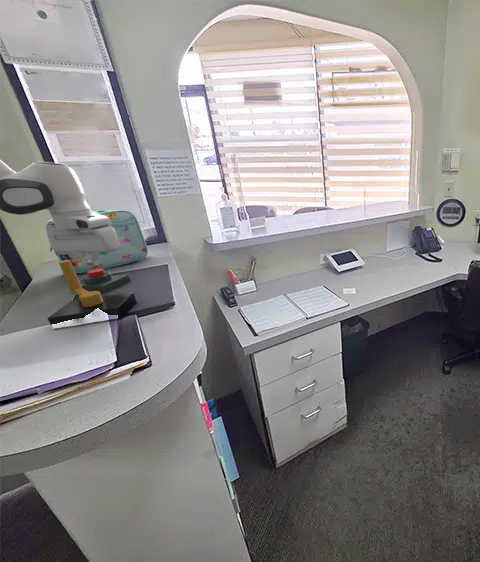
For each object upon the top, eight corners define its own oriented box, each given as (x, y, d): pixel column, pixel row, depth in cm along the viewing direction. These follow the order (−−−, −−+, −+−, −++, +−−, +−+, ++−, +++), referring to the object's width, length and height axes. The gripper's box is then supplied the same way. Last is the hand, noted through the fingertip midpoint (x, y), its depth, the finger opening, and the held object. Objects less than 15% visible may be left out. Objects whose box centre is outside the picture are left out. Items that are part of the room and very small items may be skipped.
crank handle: (69, 298, 82) (52, 262, 78) (87, 293, 85) (72, 258, 81) (86, 308, 76) (69, 270, 72) (106, 302, 79) (90, 264, 75)
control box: (71, 292, 95) (65, 280, 93) (98, 280, 103) (94, 269, 102) (105, 292, 93) (100, 280, 92) (130, 281, 102) (126, 269, 100)
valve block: (53, 329, 73) (47, 318, 72) (76, 311, 82) (71, 300, 81) (122, 318, 77) (117, 307, 76) (137, 302, 86) (133, 292, 85)
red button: (85, 278, 95) (83, 273, 95) (98, 273, 99) (95, 268, 98) (97, 278, 95) (95, 273, 94) (109, 273, 99) (107, 268, 98)
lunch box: (62, 279, 106) (33, 217, 98) (60, 272, 112) (33, 213, 104) (153, 259, 123) (135, 205, 115) (146, 255, 130) (129, 203, 122)
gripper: (32, 223, 89) (53, 268, 94) (94, 222, 86) (113, 268, 91) (56, 219, 95) (74, 261, 100) (115, 218, 92) (131, 261, 97)
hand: (93, 265), depth 96 cm, fingers closed
